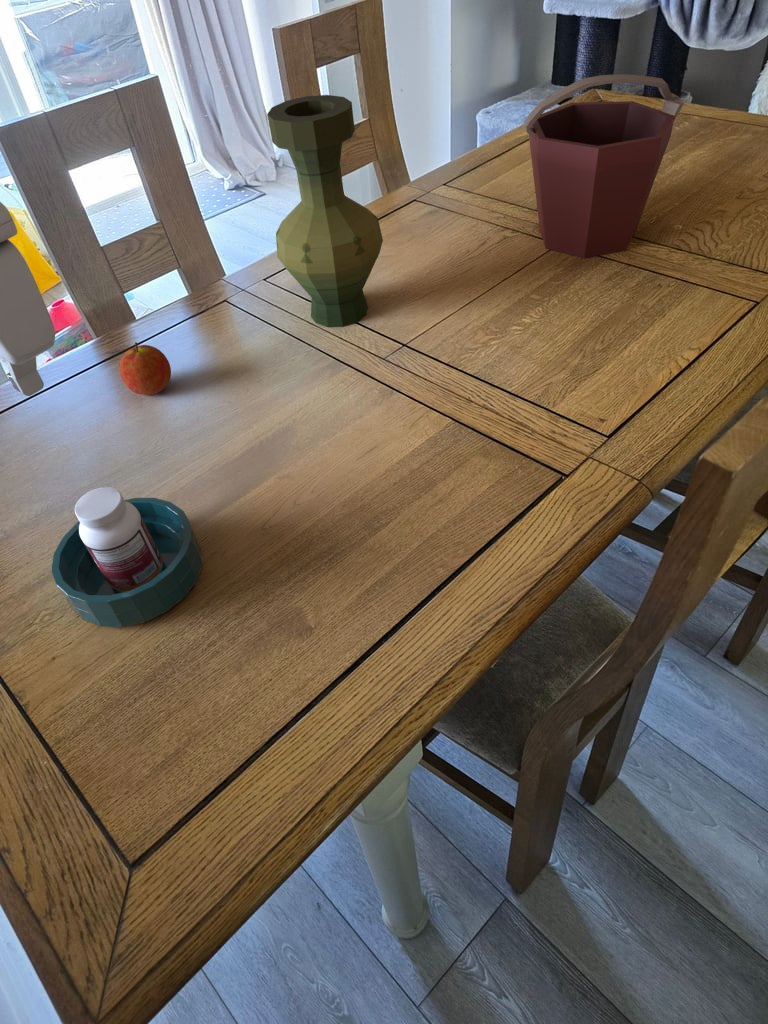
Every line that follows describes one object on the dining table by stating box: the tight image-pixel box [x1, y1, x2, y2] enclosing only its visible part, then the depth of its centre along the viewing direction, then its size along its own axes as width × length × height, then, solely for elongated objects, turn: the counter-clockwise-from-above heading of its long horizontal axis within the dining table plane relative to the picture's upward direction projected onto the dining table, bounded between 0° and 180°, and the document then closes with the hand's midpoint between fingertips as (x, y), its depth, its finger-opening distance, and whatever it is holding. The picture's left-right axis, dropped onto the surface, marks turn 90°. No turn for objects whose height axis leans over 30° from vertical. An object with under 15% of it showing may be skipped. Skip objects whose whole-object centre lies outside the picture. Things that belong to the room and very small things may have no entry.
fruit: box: [119, 342, 172, 397], centre depth 99 cm, size 7×7×8 cm
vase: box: [266, 94, 384, 328], centre depth 103 cm, size 16×16×30 cm
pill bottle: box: [74, 486, 163, 592], centre depth 73 cm, size 6×6×11 cm
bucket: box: [523, 73, 685, 259], centre depth 115 cm, size 24×22×25 cm
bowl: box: [51, 497, 203, 628], centre depth 75 cm, size 15×15×5 cm
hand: (0, 372), depth 58 cm, fingers open, 8 cm apart
